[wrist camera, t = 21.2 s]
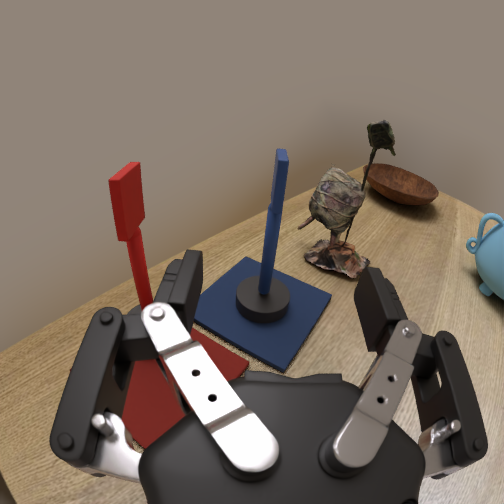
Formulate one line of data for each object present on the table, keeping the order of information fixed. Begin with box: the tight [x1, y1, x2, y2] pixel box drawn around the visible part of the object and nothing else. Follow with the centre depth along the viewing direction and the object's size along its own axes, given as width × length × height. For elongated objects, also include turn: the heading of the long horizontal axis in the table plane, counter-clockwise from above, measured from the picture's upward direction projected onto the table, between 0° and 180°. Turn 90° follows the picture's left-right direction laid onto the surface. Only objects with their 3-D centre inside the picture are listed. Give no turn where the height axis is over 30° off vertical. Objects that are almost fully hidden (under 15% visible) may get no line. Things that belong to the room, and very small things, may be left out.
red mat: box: [70, 328, 249, 449], centre depth 23 cm, size 12×12×1 cm
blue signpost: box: [236, 149, 290, 323], centre depth 26 cm, size 6×6×16 cm
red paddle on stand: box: [109, 162, 153, 315], centre depth 21 cm, size 6×6×16 cm
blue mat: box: [194, 257, 332, 372], centre depth 31 cm, size 12×12×1 cm
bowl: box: [363, 164, 439, 205], centre depth 61 cm, size 20×22×5 cm
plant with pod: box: [297, 120, 396, 278], centre depth 34 cm, size 8×11×20 cm
